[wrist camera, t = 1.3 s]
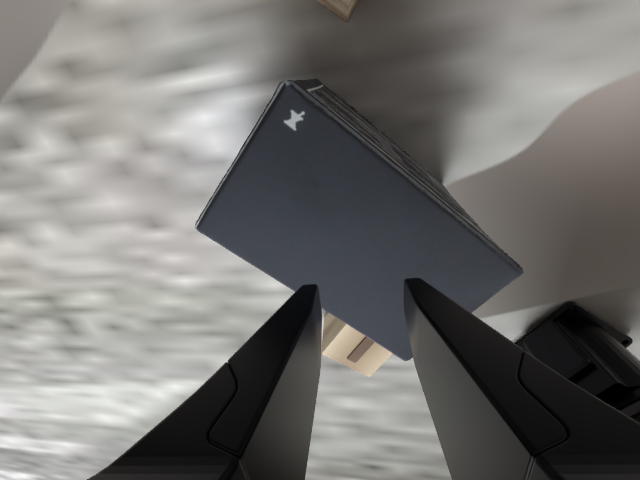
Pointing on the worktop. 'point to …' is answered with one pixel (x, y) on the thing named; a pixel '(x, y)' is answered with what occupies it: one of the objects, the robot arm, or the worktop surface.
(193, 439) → the robot arm
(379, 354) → the marked block 2
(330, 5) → the marked block 1
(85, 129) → the worktop surface
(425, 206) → the small box
